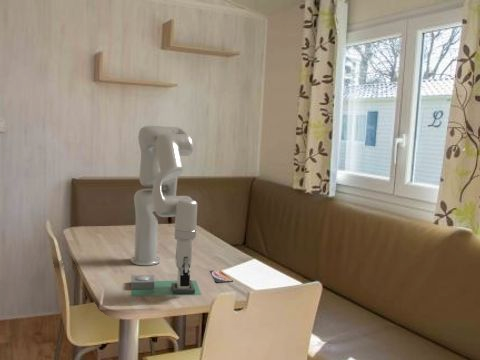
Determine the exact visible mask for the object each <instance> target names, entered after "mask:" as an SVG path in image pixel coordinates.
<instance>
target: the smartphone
mask: <svg viewBox="0 0 480 360" xmlns="http://www.w3.org/2000/svg"><path fill="white" fill-rule="evenodd" d="M209 273H210V276H211V277H212V280H213V281H214V283H216V284H225V283H233V282H234V280H233V279H232V278H230V277H229V276H228V275H227V274H225V273H224V272H223V271H221V270H217V269H216V270H209Z"/></svg>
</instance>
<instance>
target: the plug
mask: <svg viewBox="0 0 480 360" xmlns="http://www.w3.org/2000/svg"><path fill="white" fill-rule="evenodd" d="M183 270H184V269H183ZM189 271H190V272H191V269H190V268H189ZM180 275H181V268H177V275H176V277H177V278H176V281H177V289H189V286H190V284H189V286H180Z"/></svg>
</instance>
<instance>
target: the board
mask: <svg viewBox="0 0 480 360" xmlns="http://www.w3.org/2000/svg"><path fill="white" fill-rule="evenodd" d="M130 280H131V281H130V286H131V287H130V288H131V290H130V297H161V296H162V297H167V296H169V297H170V296H173V297H175V296H202V292H201V290H200V288H199V285H198V283H197V280H192V279H190V286H189V289H177V280H155V275H147V274H146V275H131V279H130Z"/></svg>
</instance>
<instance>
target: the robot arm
mask: <svg viewBox="0 0 480 360" xmlns="http://www.w3.org/2000/svg"><path fill="white" fill-rule="evenodd" d="M137 138H138V144H139V148H140V165H139V183H140V185H142V186H144V187H148V188H143V189H142V188H141V189H139V190H137V191H136V192H135V193H134V196H133V203H134V212H135V214H134V215H135V228H134V229H135V231H134V233H135V234H134V256H132V257H131V258H130V263H131V264H133V265H137V266H154V265H158V264H160V263H161V258H160V257H158V235H159V221H158V219H157V217H156V216H155V214H156V215H157V216H158V217H162V218H169V217H170V218H173V217H175V218H174V240H176V247H175V260H174V261H175V266H176V268H177V269H178V268H181V275H180V286H189V284H190V280H191V270H190V271H189V268H191V267H192V263H193V261H192V260H193V243H194V241H195V240H196V239H197V219H198V202H197V201H196V200H194V199H192V197H190V196H189V195H177V187H178V177H179V176H180V175H181V174H182V173H183V171H184V168H183V167H184V166H183V163H182V158H181V157H182V156H184V157H188V156H190V155H191V154H192V153H193V150H194V143H193V140H192V137H191V136H190V134H188V133H187V132H186V131H185V130H184V129H182V128H181V127H177V126H164V125H163V126H161V125H145V126H142V127H141V128H140V129H139V132H138V137H137ZM149 187H150V188H149ZM151 187H152V188H151ZM162 187H163V188H162ZM154 212H155V214H154ZM183 269H184V270H183Z"/></svg>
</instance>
